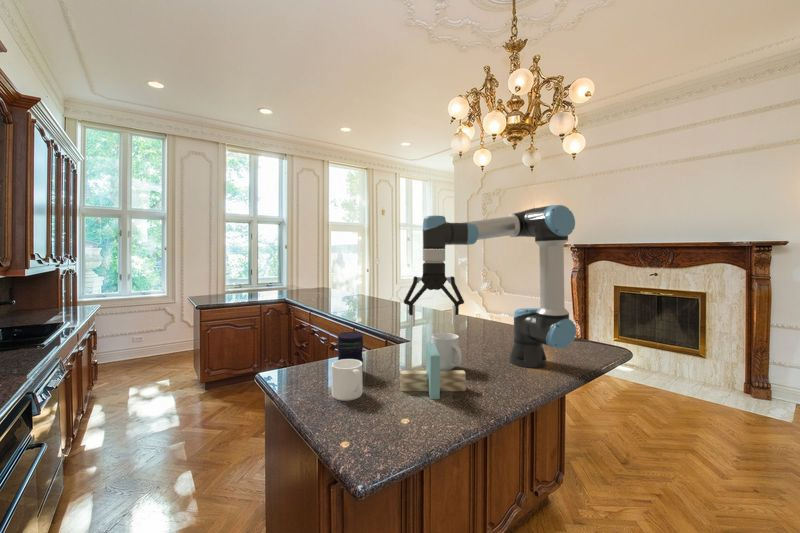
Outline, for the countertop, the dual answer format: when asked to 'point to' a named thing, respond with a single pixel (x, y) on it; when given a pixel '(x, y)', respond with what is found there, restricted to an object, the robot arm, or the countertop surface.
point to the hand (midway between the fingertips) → (433, 324)
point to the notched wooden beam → (419, 382)
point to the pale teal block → (433, 370)
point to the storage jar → (350, 346)
